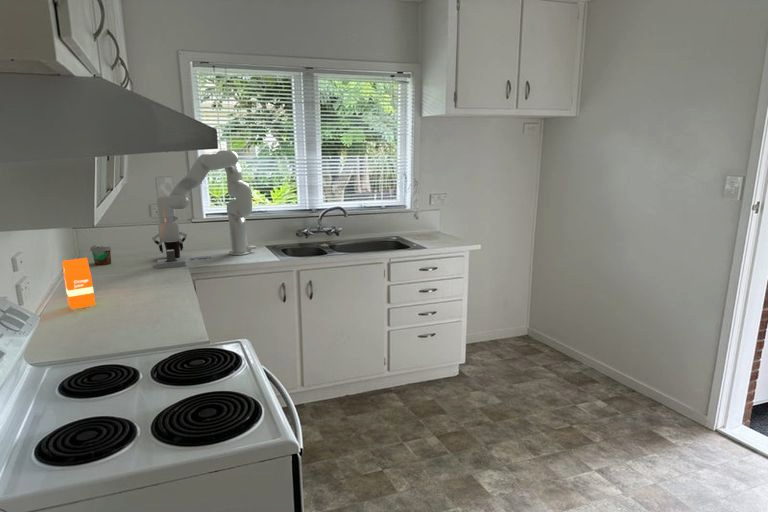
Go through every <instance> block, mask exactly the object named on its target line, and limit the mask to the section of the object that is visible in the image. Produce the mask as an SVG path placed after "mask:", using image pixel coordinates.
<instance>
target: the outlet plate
mask: <svg viewBox="0 0 768 512" xmlns="http://www.w3.org/2000/svg"><path fill="white" fill-rule="evenodd" d="M175 260H176V261H175V262H167V258H165V259H157V262H156V268H157V269H167V268H176V267H177V268H179V267H186V266H187V264H186V263H187V261H186V257H179V258H175ZM185 265H186V266H185ZM178 266H179V267H178Z"/></svg>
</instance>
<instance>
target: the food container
mask: <svg viewBox="0 0 768 512" xmlns="http://www.w3.org/2000/svg"><path fill="white" fill-rule="evenodd" d="M89 248H90V249H89V252H91V255H92V257H93V262H94V265H95V266H108V265H111V264H112V256H111V255H112V253H111V251H112V249H111V248H112V247H111V246H110V245H108V246H96V244H94V245H91V246H90V247H89Z"/></svg>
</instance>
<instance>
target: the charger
mask: <svg viewBox="0 0 768 512" xmlns="http://www.w3.org/2000/svg"><path fill="white" fill-rule="evenodd" d="M165 252H166V254H165V255H166V259H167V262H175V261H176V260H175V251H174V250H166V249H165Z"/></svg>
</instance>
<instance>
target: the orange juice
mask: <svg viewBox="0 0 768 512" xmlns="http://www.w3.org/2000/svg"><path fill="white" fill-rule="evenodd" d="M62 270H63V278H64V285H65V292H66V297H67V303H68V307H69V306H70V308H71V309H75V308H83V307H88V306H93V305H96V299H95V293H94V292H95V291H94V286H93V280H92V273H91V269H90V265H89V261H88V257H81V258H74V259H66V260H65V259H64V260H62ZM70 308H69V309H70Z"/></svg>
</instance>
